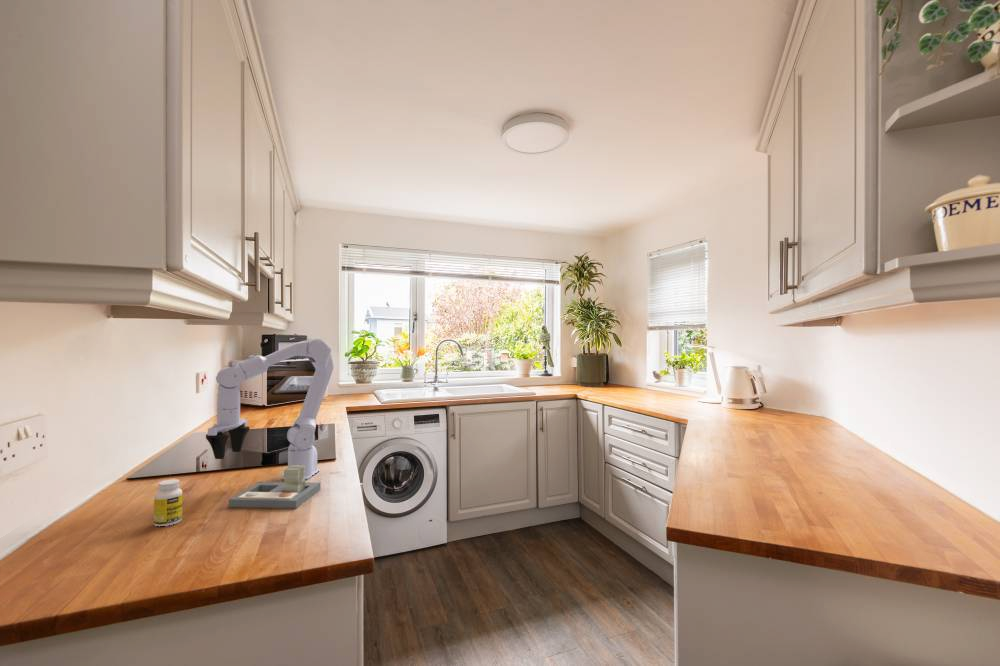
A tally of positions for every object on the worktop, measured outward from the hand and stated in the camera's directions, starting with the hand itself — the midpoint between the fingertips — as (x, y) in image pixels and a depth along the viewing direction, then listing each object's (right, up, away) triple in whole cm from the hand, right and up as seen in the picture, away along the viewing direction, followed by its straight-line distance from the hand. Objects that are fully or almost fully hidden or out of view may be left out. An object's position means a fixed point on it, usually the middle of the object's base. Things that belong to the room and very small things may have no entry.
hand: (228, 455), depth 127 cm
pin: (+22, -10, -5) cm, 25 cm away
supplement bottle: (0, -10, -23) cm, 25 cm away
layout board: (+18, -10, -7) cm, 21 cm away
